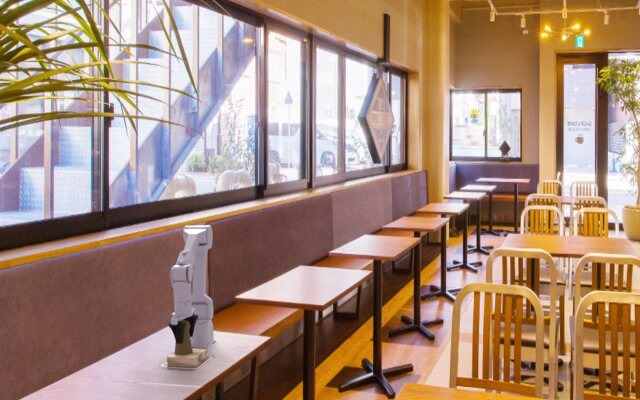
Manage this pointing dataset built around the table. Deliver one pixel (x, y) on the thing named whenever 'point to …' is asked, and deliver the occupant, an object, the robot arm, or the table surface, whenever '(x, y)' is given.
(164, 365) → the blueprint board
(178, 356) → the birch block
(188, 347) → the cork
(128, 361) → the table surface
